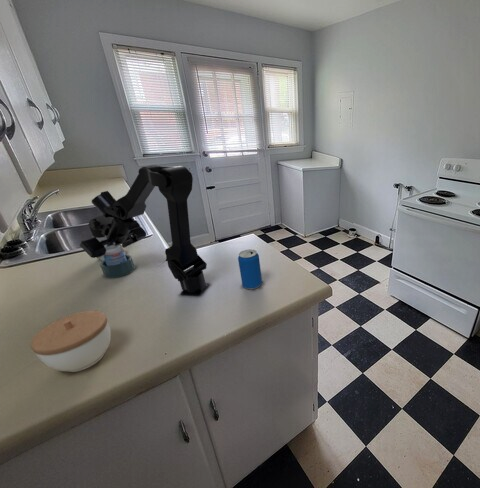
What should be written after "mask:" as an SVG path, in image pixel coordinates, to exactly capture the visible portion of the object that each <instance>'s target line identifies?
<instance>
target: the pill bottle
mask: <svg viewBox="0 0 480 488" xmlns="http://www.w3.org/2000/svg"><path fill="white" fill-rule="evenodd" d="M109 244H110V243H109ZM123 250H124V248H123V247H121V246H118V245H117V246H115V245H112V246H109V247H107V248H106V253H105V255H103V256H104V259H105V262H106V264H107V266H112V265H117V264H121V263H123V262H125V261H127V259H126V256H125V255H126V254H124V251H125V250H124V251H123Z"/></svg>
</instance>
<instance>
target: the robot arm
mask: <svg viewBox="0 0 480 488" xmlns="http://www.w3.org/2000/svg"><path fill="white" fill-rule="evenodd" d="M193 181H194V179H193V174H192V172H191V171H190V170H189V168H187V167H186V166H184V165H178V166H177V165H175V166H161V165H157V164H152V165H147V166H141V168H139V169H138V174H137V176H136V177H135V179H134V180H133V183H132V184H131V186H130V187H129V189H128V191H127V193H126V194H125V195H123V196H122V197H120V198H118V199H117V200H116V198H115V197H114V196H113V195H112V194H111V192H110V191H109V190H105V191H101V192H100V194H98V195H96V196H94V198H92V199H91V204H92V205H93V206H94V207H95V208H96V209H97V210H98V211H99V212H100V213H101V215H98V216H95V217H94V218H91V219H90V220H89V221H88V224H89V225H88V227H89V226H90V227H91V228H92V229H94V230H97V229H100V230H101V231H102V234H103V236H106V240H103V241H101V242H100V241H99V240H98V239H97V238H96V237H93V236H91V237H88V238H85V239H82V240H80V244H79V247H80V248H81V249H82V250H83V251H84V252H85V254H87V255H88V256H89V257H90V258H92V259H95V258H96V259H100V257H101V256H103V255H105V253H106V248H107V247H109V246H112V245H115V246H117V245H120V244H121V245H122V248H123V249H125V248H127V247H129V246H131V245H133V244H135V243H137V242H139V241H142V240H143V239H146V237H147V231H146V230H145V229H144V228H143V227H142V226H141V225H140V223H139V222H138V220H137V219H136V218H137V217H139V216H142V215H144V214H145V212H146V208H147V205H146V201H147V199H148V198H149V197H150V195H151V193H152V191H153V190H154V189H155V188H156V187H157V188H158V191H159V192H160V193H161V195H162V196H163V197H164V198H165V199H166V203H167V213H168V218H169V219H168V220H169V228H170V236H171V237H170V239H171V246H169V247H167V248H165V250H164V255H165V262H167V267H168V269H169V271H170V272H171V274H172V276H173V278H174V279H175V280H177V281H178V282H179V284H180V287H181V292H180V295H181V296H201V295H202V294H203V293H204V291H205V290H206V289H207V288H208V287H209V286H210V284H209V283H208V282H206V280H205V279H206V278H205V275H204V270H206V269H207V267H208V266H207V265H208V264H207V262H206V261H205V260H204V259H203V258H202V257H201V256H200V255H199V254H198V250H197V248H196V247H195V245H193V244H192V242H191V229H190V219H189V217H190V216H189V207H188V206H189V205H188V198H189V196H190V194H191V192H192V191H193ZM90 227H89V228H90ZM109 243H110V244H109Z"/></svg>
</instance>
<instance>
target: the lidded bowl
mask: <svg viewBox="0 0 480 488" xmlns="http://www.w3.org/2000/svg"><path fill="white" fill-rule="evenodd" d="M111 341H112V332H111V328H110V323H109V322H108V318H107V315H106V314H105V313H104V312H102V311H99V310H86V311H81V312H76V313H72V314H70V315H66V316H64V317H61V318H59V319H57V320H55V321H53V322H51V323H49V324H47V325H46V326H44V327H43V328H41V329H40V330H39V331H38V332H37V333H36V334H35V335H34V336H33V337H32V339H31V341H30V343H29V346H30V349H31V350H32V352H33V353H34V354H35V355H36V356H37V358H38V359H39V360H40V361H41V363H43V364H44V365H45V366H46V367H48V368H50V369H52V370H54V371H59V372H69V373H77V372H82V371H84V370H86V369H89V368H91V367H92V366H94V365H96V364H97V363H99V361H101V360H102V359H103V357H104V356H105V354H106V352H107V351H108V349H109V347H110V343H111Z"/></svg>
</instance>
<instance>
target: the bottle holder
mask: <svg viewBox="0 0 480 488" xmlns="http://www.w3.org/2000/svg"><path fill="white" fill-rule="evenodd" d="M125 256H126V259H127V261H125V262H123V263H121V264H117V265H112V266H107V264H106V262H105V260H104V261H102V260H101V262H100V263H99V264H100V265H99V266H100V268H101V271H102V273H103V276H104V277H105V278H107V279H113V278H120V277H123V276H126V275H128V274H130V273H132V272H133V271H134V270H135V268H136V266H135V263H134V260H133V257H132V255H129V254H125Z"/></svg>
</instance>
